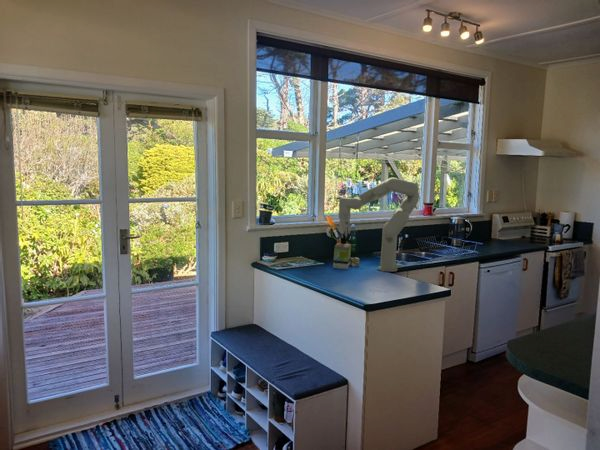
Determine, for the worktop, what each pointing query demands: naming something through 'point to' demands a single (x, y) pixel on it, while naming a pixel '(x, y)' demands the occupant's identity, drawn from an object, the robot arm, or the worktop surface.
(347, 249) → the tea box
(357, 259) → the birch block
